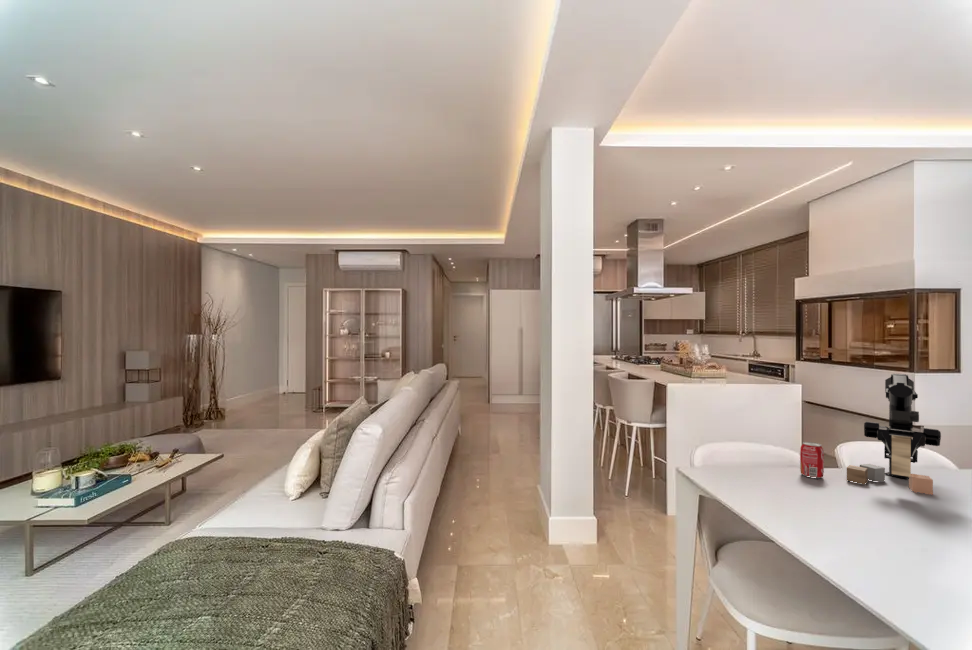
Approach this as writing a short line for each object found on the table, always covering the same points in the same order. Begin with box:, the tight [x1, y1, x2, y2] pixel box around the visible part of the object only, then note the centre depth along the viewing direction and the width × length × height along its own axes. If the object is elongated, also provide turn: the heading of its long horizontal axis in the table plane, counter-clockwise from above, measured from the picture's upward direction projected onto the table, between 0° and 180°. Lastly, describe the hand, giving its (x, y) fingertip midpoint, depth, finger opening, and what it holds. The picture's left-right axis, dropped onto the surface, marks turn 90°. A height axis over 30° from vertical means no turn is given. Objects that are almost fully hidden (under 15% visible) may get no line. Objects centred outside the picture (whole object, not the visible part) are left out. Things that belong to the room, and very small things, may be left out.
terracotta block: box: [908, 473, 934, 496], centre depth 151 cm, size 5×5×5 cm
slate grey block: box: [859, 463, 886, 481], centre depth 162 cm, size 5×5×5 cm
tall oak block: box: [892, 435, 912, 477], centre depth 147 cm, size 4×4×12 cm
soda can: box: [799, 441, 825, 479], centre depth 164 cm, size 7×7×12 cm
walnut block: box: [846, 464, 869, 485], centre depth 159 cm, size 5×5×5 cm
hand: (901, 454), depth 146 cm, fingers closed on tall oak block, 4 cm apart
